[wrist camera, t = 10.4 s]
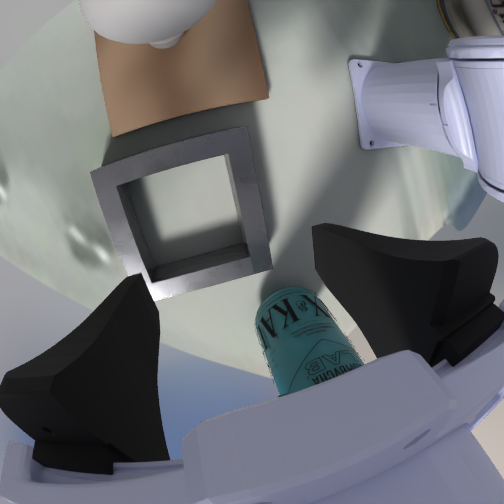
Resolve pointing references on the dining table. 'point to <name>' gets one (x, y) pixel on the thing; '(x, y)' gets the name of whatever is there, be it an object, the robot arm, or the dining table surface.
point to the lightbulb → (144, 19)
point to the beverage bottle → (302, 340)
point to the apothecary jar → (473, 17)
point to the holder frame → (202, 266)
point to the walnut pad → (183, 71)
